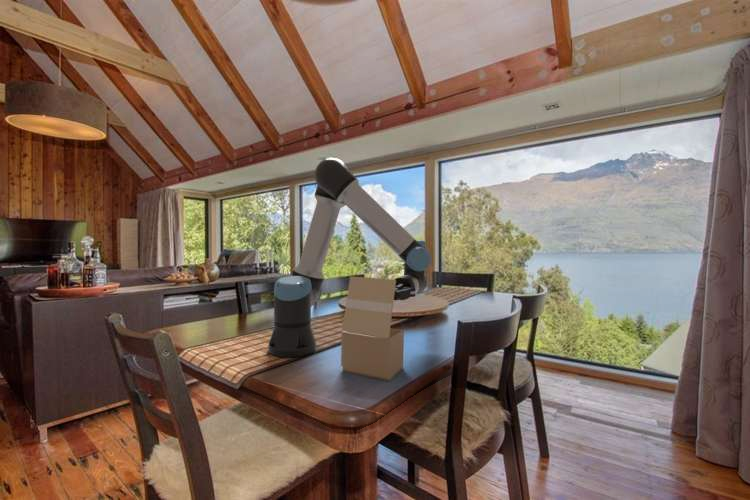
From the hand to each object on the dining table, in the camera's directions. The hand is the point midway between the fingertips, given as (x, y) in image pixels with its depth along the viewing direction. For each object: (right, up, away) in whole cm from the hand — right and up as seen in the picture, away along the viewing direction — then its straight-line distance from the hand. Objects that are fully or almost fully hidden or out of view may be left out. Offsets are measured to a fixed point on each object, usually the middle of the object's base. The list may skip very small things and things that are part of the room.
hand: (374, 298), depth 93 cm
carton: (0, -20, +3) cm, 21 cm away
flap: (-1, -2, -1) cm, 2 cm away
